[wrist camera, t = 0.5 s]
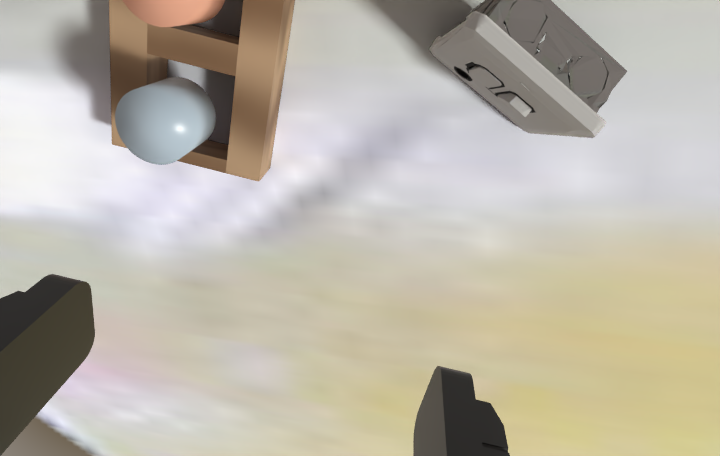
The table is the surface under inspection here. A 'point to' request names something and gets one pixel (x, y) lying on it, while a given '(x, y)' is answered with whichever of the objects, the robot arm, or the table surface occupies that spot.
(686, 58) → the table surface
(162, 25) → the pink rounded piece
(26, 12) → the table surface
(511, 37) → the electrical switch
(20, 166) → the table surface
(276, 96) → the wooden egg rack
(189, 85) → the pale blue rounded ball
